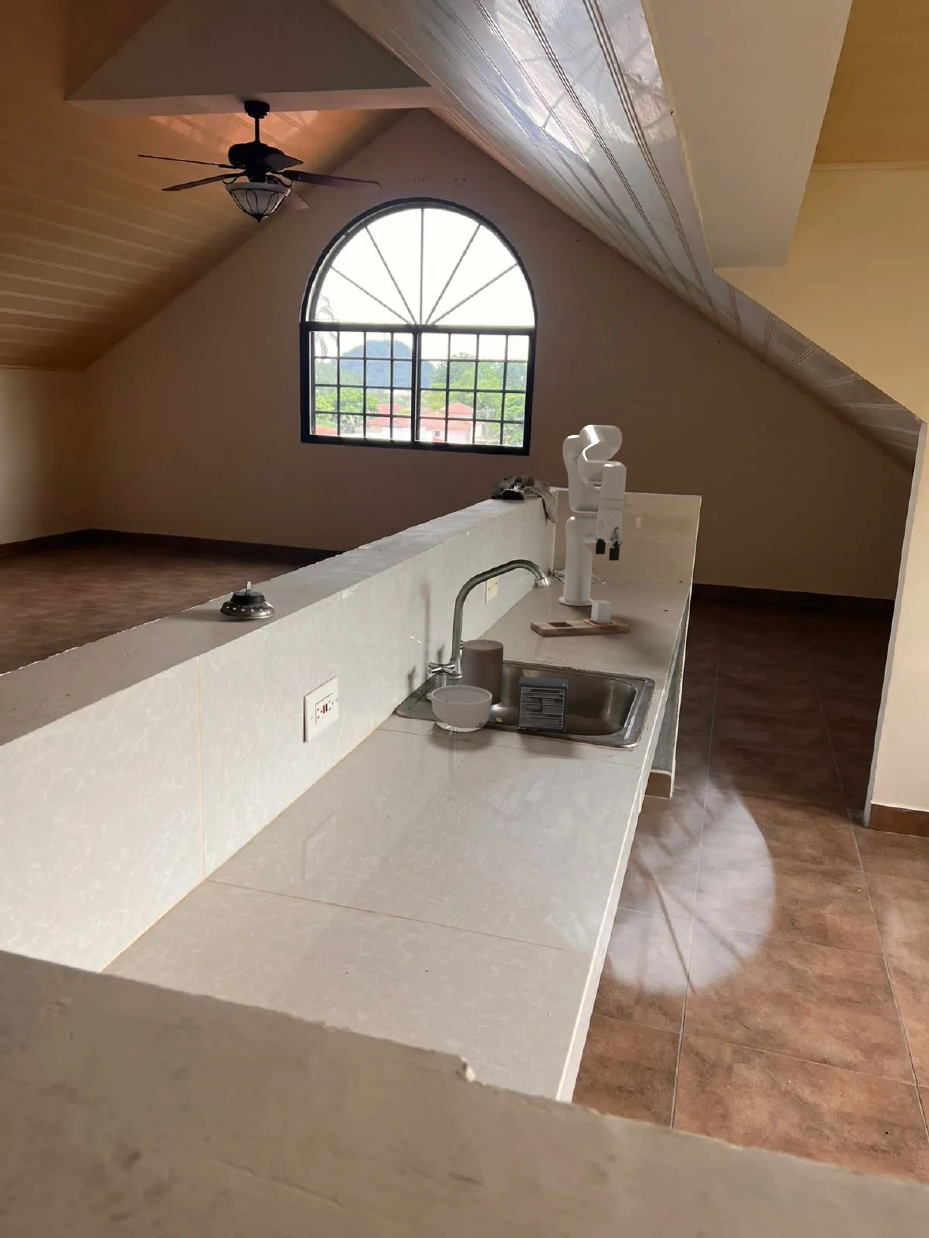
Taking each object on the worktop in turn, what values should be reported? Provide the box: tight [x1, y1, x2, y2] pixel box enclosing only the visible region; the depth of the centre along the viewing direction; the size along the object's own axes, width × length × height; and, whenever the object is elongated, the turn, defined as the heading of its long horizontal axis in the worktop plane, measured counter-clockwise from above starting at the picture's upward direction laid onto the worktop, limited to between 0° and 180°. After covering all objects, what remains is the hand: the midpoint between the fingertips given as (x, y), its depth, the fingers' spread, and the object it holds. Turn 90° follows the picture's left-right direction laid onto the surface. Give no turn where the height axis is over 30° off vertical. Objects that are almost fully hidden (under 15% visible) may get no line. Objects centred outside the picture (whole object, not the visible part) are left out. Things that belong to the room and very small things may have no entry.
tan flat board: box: [530, 618, 631, 637], centre depth 287 cm, size 10×30×2 cm, turn 108°
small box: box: [516, 676, 569, 733], centre depth 197 cm, size 11×6×10 cm, turn 84°
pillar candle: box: [461, 638, 504, 706], centre depth 212 cm, size 10×10×15 cm
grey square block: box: [590, 599, 612, 625], centre depth 289 cm, size 4×4×9 cm
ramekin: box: [430, 684, 492, 728], centre depth 196 cm, size 13×13×7 cm
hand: (606, 557), depth 289 cm, fingers open, 9 cm apart
